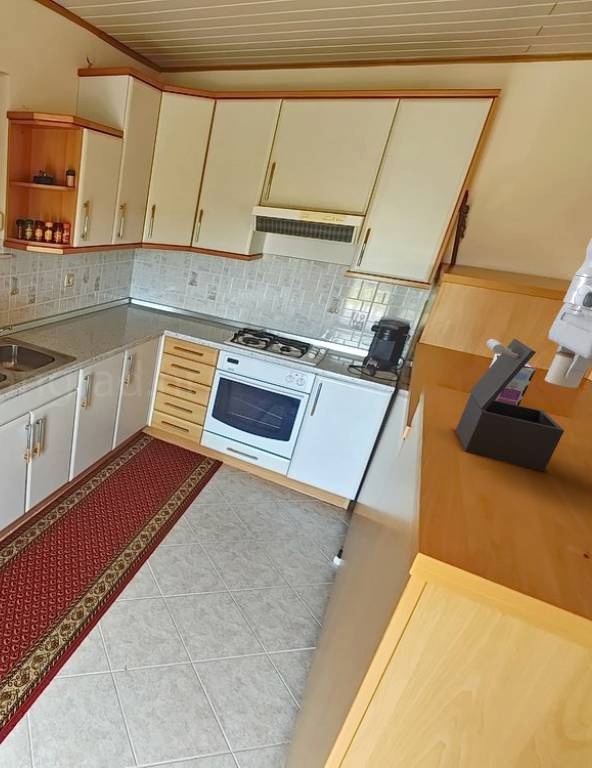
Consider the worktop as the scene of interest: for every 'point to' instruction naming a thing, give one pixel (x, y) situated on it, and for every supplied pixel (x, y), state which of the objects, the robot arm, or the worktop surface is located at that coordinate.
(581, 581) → the worktop surface
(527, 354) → the grey lid with handle
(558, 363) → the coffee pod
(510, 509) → the worktop surface
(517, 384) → the candy bar box
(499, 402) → the grey hinged lid box
